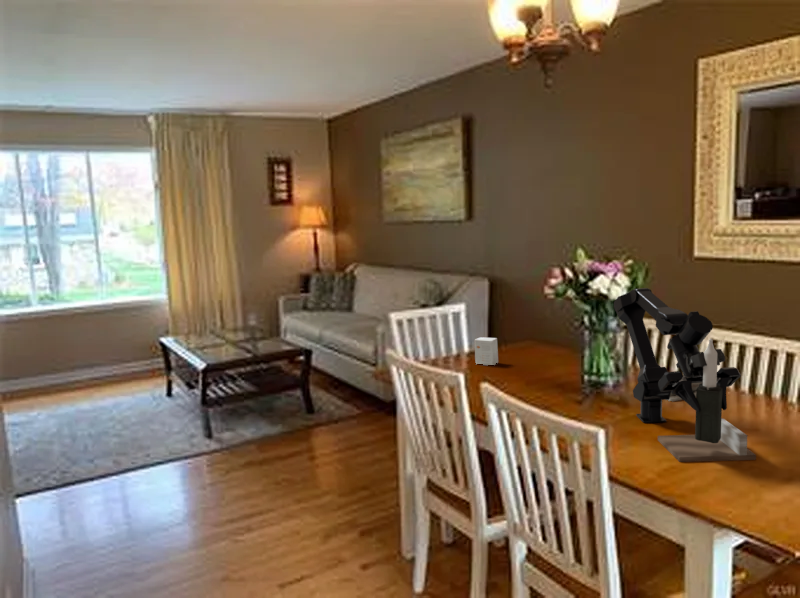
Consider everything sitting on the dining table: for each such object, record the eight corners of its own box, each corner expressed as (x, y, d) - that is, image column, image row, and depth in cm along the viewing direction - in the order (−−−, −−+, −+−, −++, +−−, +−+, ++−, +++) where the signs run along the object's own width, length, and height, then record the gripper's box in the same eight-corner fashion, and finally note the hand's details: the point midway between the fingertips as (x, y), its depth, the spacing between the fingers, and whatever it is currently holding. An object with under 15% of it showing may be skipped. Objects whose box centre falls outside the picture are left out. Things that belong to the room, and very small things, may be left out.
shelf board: (657, 440, 159) (657, 417, 158) (727, 438, 158) (727, 415, 158) (679, 461, 146) (679, 437, 145) (755, 459, 145) (756, 435, 144)
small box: (498, 363, 248) (497, 338, 246) (493, 366, 243) (492, 340, 241) (480, 361, 252) (479, 336, 250) (474, 364, 247) (474, 339, 246)
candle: (694, 439, 147) (696, 339, 143) (699, 433, 151) (701, 335, 147) (717, 444, 144) (720, 342, 140) (721, 437, 147) (725, 337, 144)
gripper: (664, 340, 147) (688, 398, 137) (737, 335, 148) (766, 392, 139) (648, 363, 156) (670, 419, 146) (717, 358, 157) (742, 413, 148)
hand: (712, 410), depth 145 cm, fingers closed on candle, 6 cm apart
